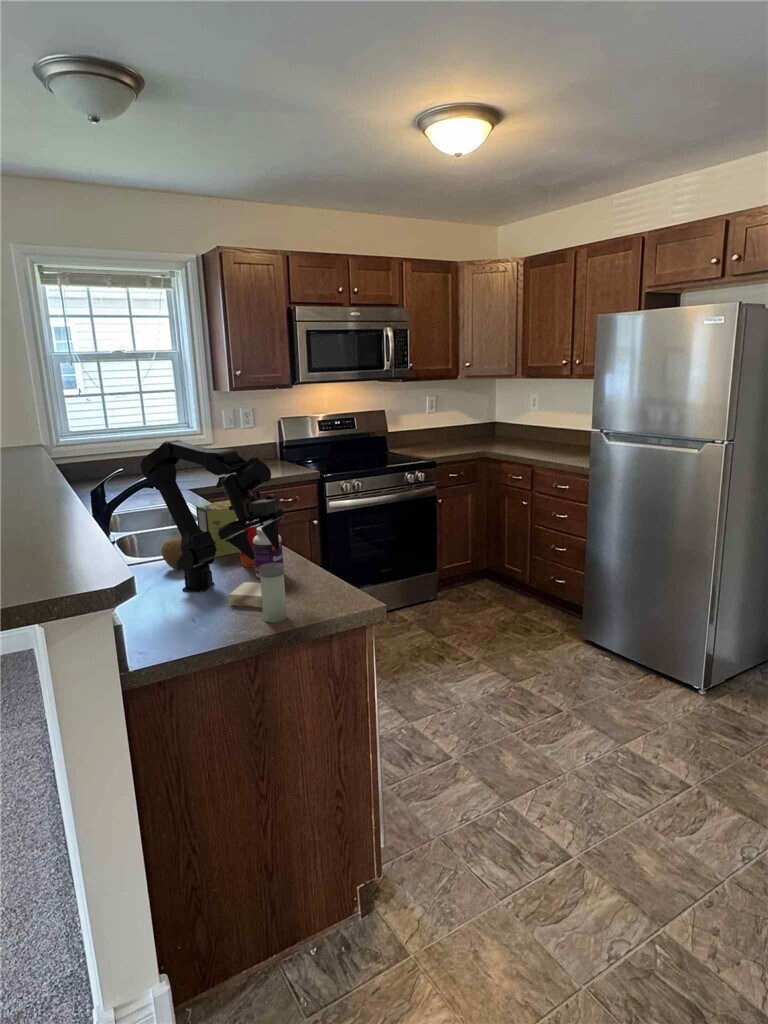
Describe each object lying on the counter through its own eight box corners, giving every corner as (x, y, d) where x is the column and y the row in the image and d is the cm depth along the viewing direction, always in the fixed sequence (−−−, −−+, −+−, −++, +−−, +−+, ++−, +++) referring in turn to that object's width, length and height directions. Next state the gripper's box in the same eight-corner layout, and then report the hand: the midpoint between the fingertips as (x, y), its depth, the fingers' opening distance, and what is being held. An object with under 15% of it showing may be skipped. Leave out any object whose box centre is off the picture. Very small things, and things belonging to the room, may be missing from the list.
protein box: (256, 549, 207) (252, 503, 203) (211, 558, 199) (206, 511, 195) (243, 542, 215) (239, 498, 212) (199, 550, 207) (194, 505, 203)
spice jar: (258, 621, 149) (254, 570, 146) (268, 612, 155) (264, 562, 152) (282, 623, 148) (278, 571, 145) (291, 613, 154) (287, 563, 151)
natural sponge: (171, 563, 194) (168, 532, 192) (199, 564, 193) (196, 532, 191) (158, 573, 186) (154, 541, 183) (187, 574, 185) (184, 541, 182)
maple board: (230, 605, 160) (229, 594, 159) (245, 592, 169) (244, 582, 168) (262, 607, 158) (262, 596, 157) (276, 594, 167) (275, 583, 166)
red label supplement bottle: (251, 558, 197) (248, 515, 194) (269, 562, 193) (265, 518, 189) (232, 565, 191) (228, 521, 187) (249, 570, 186) (246, 524, 183)
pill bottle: (278, 581, 176) (274, 532, 173) (251, 580, 178) (247, 531, 174) (288, 571, 184) (284, 524, 181) (262, 570, 186) (258, 523, 182)
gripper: (234, 492, 145) (261, 554, 145) (285, 478, 161) (310, 534, 161) (205, 509, 151) (231, 568, 151) (257, 494, 167) (281, 548, 167)
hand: (266, 554), depth 157 cm, fingers open, 9 cm apart
